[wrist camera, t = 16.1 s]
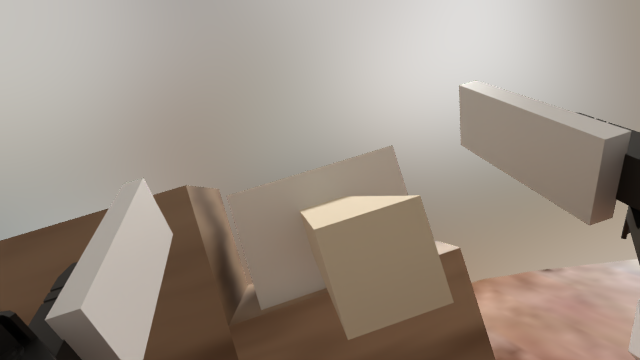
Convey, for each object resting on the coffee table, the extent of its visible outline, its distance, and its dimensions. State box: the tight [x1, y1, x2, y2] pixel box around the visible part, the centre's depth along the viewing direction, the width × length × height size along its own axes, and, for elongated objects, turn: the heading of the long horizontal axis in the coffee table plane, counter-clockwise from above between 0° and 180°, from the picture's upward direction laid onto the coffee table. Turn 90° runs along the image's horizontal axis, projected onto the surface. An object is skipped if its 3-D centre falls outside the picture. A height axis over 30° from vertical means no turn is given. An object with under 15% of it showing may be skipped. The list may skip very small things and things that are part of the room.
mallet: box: [227, 146, 454, 340], centre depth 16 cm, size 17×9×6 cm, turn 3°
